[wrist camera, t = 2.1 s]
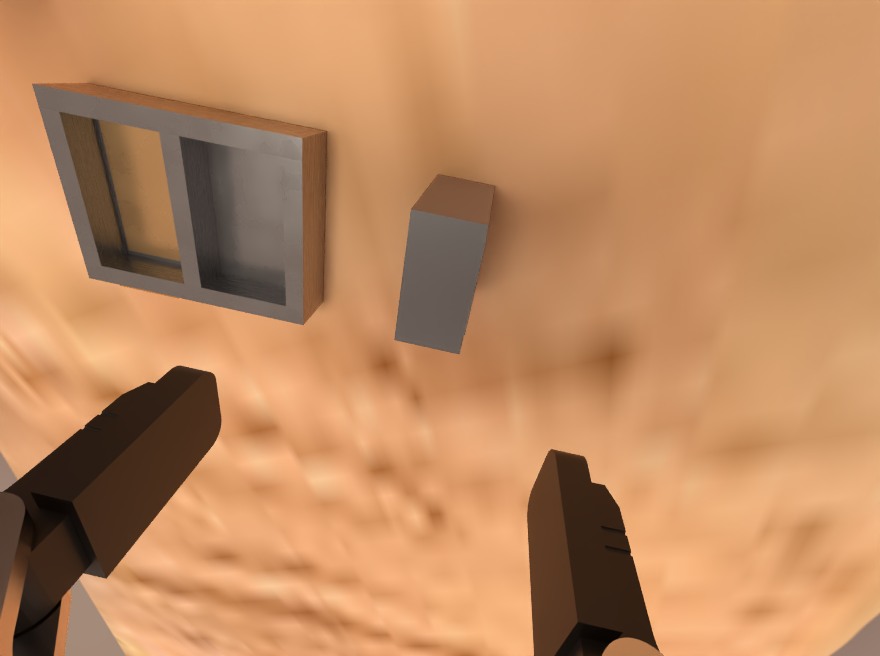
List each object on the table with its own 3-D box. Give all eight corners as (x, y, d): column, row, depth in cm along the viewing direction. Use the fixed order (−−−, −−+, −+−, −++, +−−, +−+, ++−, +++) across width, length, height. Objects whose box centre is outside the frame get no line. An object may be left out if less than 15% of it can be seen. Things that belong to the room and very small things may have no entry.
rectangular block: (495, 185, 22) (490, 225, 16) (472, 288, 25) (460, 354, 19) (437, 174, 22) (409, 208, 16) (421, 278, 25) (393, 339, 19)
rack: (326, 131, 22) (302, 138, 19) (323, 304, 27) (303, 327, 24) (87, 83, 22) (32, 83, 20) (129, 262, 28) (90, 280, 25)
